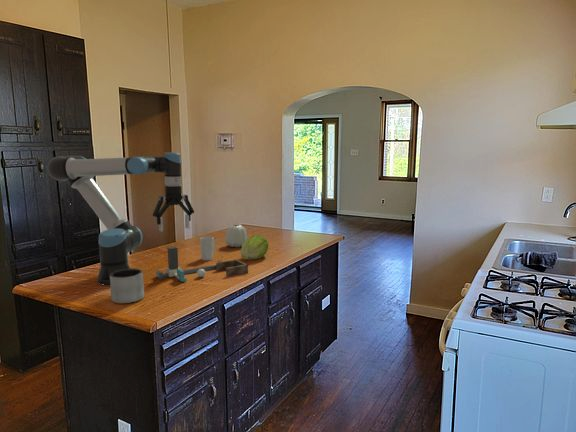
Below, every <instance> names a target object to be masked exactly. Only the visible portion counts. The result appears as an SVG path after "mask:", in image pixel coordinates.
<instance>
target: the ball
mask: <svg viewBox="0 0 576 432" xmlns="http://www.w3.org/2000/svg"><path fill="white" fill-rule="evenodd" d="M196 276H197V277H199V278H204V277H206V271H205V270H204V269H199V270H198V271H197V272H196Z"/></svg>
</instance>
